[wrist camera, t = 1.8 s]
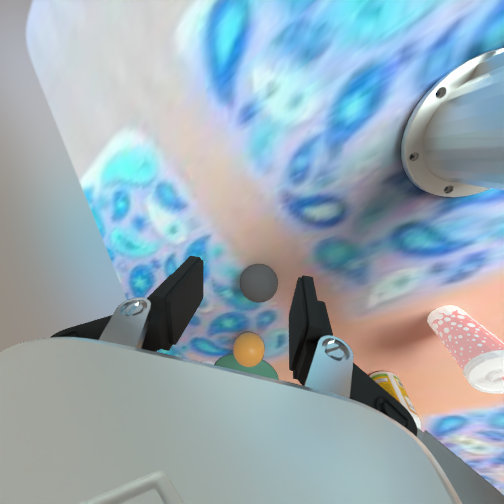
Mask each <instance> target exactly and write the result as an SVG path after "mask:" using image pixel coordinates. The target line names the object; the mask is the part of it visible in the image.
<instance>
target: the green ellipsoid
mask: <svg viewBox="0 0 504 504" xmlns="http://www.w3.org/2000/svg"><path fill="white" fill-rule="evenodd" d="M215 365H216V366H221V367H225V368H229V369H234V370H238V371H243V372H247V373H251V374H255V375H260V376H264V377H268V378H273V379H277V380H278V375H277V373H276V371H275V370H274V369H273V367H272V366H270V365H269V364H268V363H267V362H265V361H264V360H261V361H260V362H259V363H258V364H257V365H255V366H253V367H245V366H242V365H241V364H239V363H238V362H237V360H236V359H235V357H234V354H229V355H226V356H223V357H222V358H220V359H219V360H218V361H217V362H216V363H215Z"/></svg>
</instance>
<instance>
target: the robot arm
mask: <svg viewBox="0 0 504 504" xmlns="http://www.w3.org/2000/svg"><path fill="white" fill-rule="evenodd" d="M436 93H437V97H436V96H435V94H436ZM411 154H412V158H411V159H409V158H410V155H411ZM401 159H402V163H403V168H404V170H405V172H406V174H407V176H408V178H409V179H410V180H411V181H412V182H413V184H414V185H416V186H417V187H419V188H420V189H421V190H423V191H426V192H428V193H431V194H434V195H438V196H444V197H462V196H469V195H473V194H477V193H480V192H483V191H486V190H488V189H491V188H492V189H499V190H504V48H499V49H496V50H493V51H489V52H486V53H483V54H481V55H479V56H477V57H475V58H473V59H471V60H468V61H466V62H465V63H463V64H461V65H460V66H458V67H456V68H454V69H453V70H451V71H450V72H449V73H448V74H446V75H445V76H444V77H442V78H441V79H440V80H439V81H438V82H437V83H436V84H435V85H434V86H433V87H432V88H431V89H430V90H429V91H428V92H427V93H426V94H425V95H424V97H423V98H422V99H421V100H420V102H419V103H418V104H417V106H416V107H415V109H414V111H413V113H412V115H411V116H410V118H409V120H408V123H407V126H406V128H405V131H404V134H403V139H402V144H401ZM202 299H203V260H201V258H200V257H195V256H190V257H189V258H188V259H187V260H186V261H185V262H184V263H183V264H182V265H181V266H180V267H179V268H178V269H177V270H176V271H175V272H174V273H173V274H171V275H170V276H169V277H168V278H167V279H166V280H165V281H164V282H163V283H162V284H161V285H160V286H159V287H158V288H157V289H156V290H155V291H154V292H153V293H152V294H151V295H150V296H149V297H148V298H147V299H145V298H132V299H129V300H126V301H124V302H123V303H121V304H120V305H119V306H118V307H117V309H116V310H115V312H114V314H113V315H111V316H108V317H104V318H101V319H98V320H94V321H91V322H88V323H85V324H81V325H77V326H74V327H71V328H67V329H65V330H62V331H60V332H58V333H56V334H54V335H53V336H51V337H50V338H42V339H37V340H31V341H27V342H23V343H20V344H17V345H14V346H12V347H10V348H8V349H6V350H4V351H2V352H0V504H504V496H503V495H502V494H501V493H500V492H499V491H498V490H497V489H496V488H495V487H494V486H492V485H491V484H490V483H489V482H488V481H486V480H485V479H484V478H483V477H482V476H480V475H479V474H478V473H477V472H476V471H474V470H473V469H472V468H471V467H470V466H468V465H467V464H466V463H465V462H464V461H462V460H461V459H460V458H459V457H458V456H456V455H455V454H454V453H453V452H451V451H450V450H449V449H448V448H447V447H445V446H444V445H443V444H442V443H441V442H439V441H438V440H437V439H436V438H435V437H433V436H432V435H431V434H430V433H429V432H427V431H426V430H425V431H424V432H422V431H421V430H420V429H419V428H417V426H416V423H415V421H414V419H413V417H412V415H411V414H410V413H409V411H408V410H407V409H406V408H405V407H404V406H403V405H402V404H401V403H400V402H399V401H398V400H396V399H395V398H394V397H393V396H392V395H390V394H389V393H388V392H387V391H386V390H385V389H383V388H382V387H381V386H380V385H379V384H378V383H376V382H375V381H374V380H373V379H372V378H371V377H369V376H368V375H367V374H366V373H365V372H363V371H362V370H361V369H360V368H359V367H358V366H356V365H355V364H354V363H353V358H354V357H353V352H352V350H351V348H350V347H349V345H348V344H347V343H345V342H344V341H343V340H341V339H340V338H338V337H335V336H333V333H332V329H331V325H330V321H329V318H328V314H327V310H326V306H325V303H324V302H322V301H317V296H316V291H315V287H314V282H313V277H309V276H302V278H301V277H299V278H298V281H297V285H296V289H295V293H294V297H293V301H292V305H291V309H290V313H289V369H290V370H291V371H293V379H298V381H299V382H300V383H301V384H302V385H303V386H302V385H298V384H294V383H290V382H286V381H281V380H277V379H273V378H268V377H264V376H260V375H255V374H251V373H247V372H243V371H238V370H234V369H229V368H225V367H221V366H216V365H212V364H207V363H203V362H198V361H194V360H190V359H185V358H181V357H176V356H172V355H167V354H163V353H158V352H157V350H160V349H164V350H168V351H169V350H170V348H171V346H172V345H175V344H176V343H177V342H178V340H179V338H180V337H181V335H182V333H183V332H184V330H185V328H186V327H187V325H188V323H189V322H190V320H191V318H192V317H193V315H194V313H195V312H196V310H197V308H198V307H199V305H200V303H201V301H202Z"/></svg>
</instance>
